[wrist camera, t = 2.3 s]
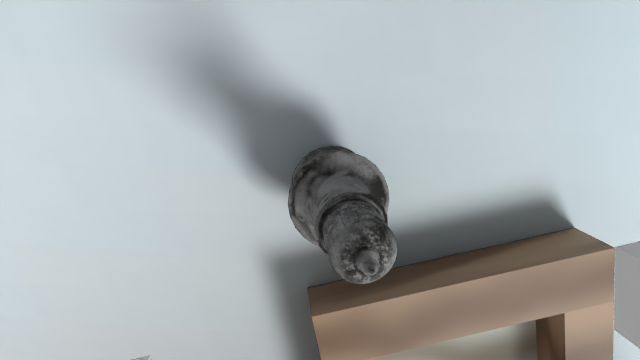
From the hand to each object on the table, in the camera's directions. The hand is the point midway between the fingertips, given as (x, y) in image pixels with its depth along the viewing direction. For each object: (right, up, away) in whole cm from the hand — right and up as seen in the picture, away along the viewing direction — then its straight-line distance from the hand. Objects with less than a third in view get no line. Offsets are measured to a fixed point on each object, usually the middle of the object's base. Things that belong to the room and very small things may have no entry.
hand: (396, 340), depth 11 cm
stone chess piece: (-1, +4, +15) cm, 16 cm away
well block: (+8, -9, +19) cm, 23 cm away
